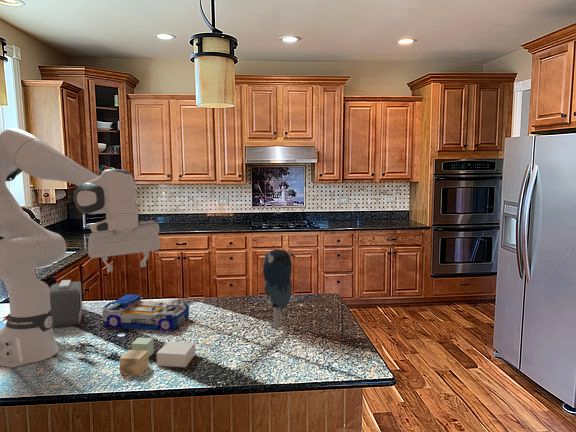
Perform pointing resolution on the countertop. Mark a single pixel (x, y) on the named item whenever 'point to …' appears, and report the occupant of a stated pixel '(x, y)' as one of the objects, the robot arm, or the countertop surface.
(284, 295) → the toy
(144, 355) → the oak block
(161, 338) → the countertop surface
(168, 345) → the pedestal
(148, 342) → the green cube
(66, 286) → the grey box with button
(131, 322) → the toy car
